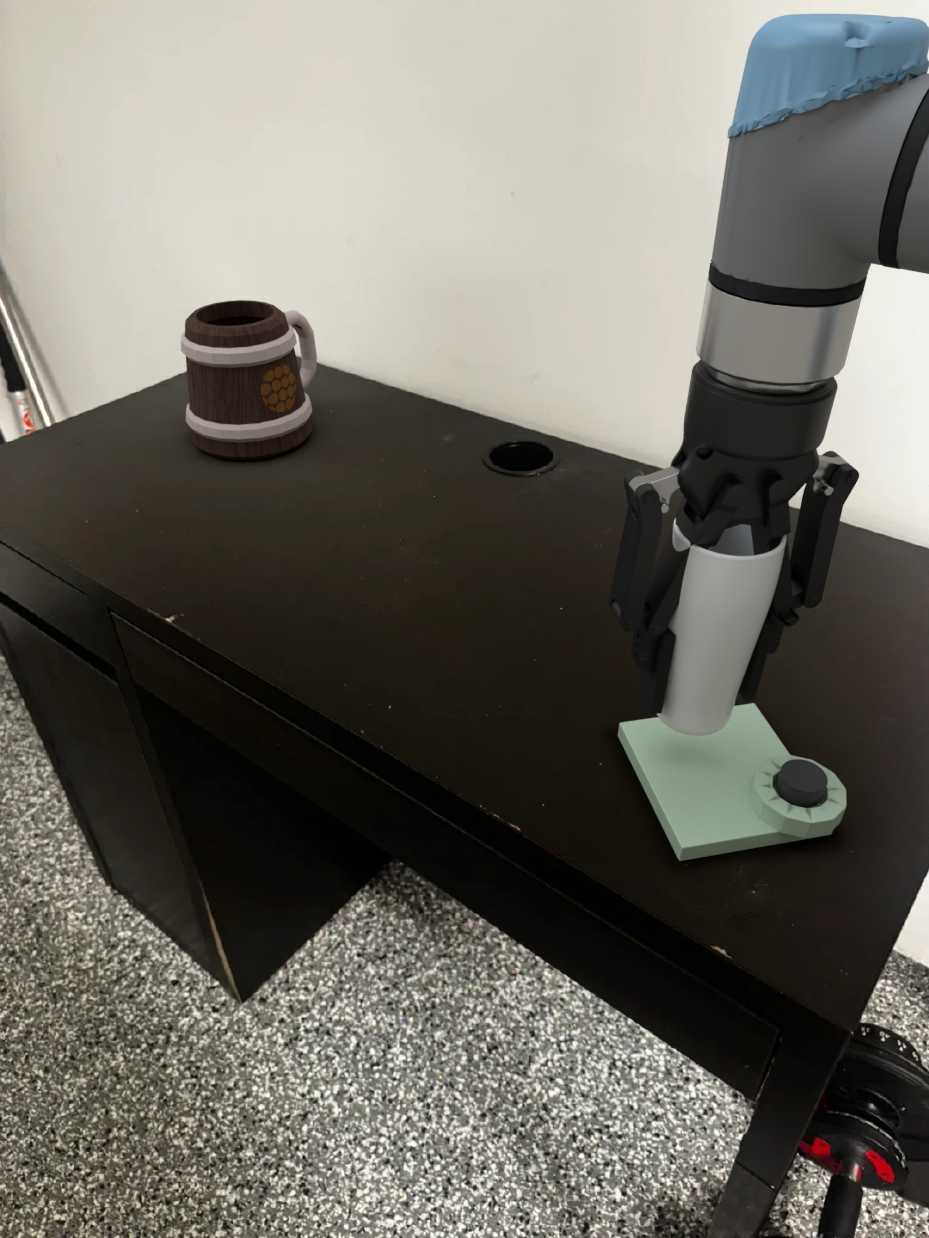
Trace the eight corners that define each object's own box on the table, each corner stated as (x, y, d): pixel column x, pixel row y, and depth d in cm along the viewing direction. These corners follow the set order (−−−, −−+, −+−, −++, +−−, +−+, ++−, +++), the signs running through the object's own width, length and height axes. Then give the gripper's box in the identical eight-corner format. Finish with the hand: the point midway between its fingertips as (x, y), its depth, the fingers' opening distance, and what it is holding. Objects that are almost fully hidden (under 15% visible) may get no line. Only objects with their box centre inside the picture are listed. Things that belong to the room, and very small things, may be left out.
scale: (852, 843, 60) (864, 813, 58) (684, 873, 58) (691, 843, 56) (762, 714, 70) (770, 685, 68) (617, 735, 68) (621, 706, 66)
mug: (255, 475, 101) (235, 345, 92) (163, 443, 108) (136, 319, 99) (364, 415, 115) (355, 296, 106) (276, 390, 121) (261, 276, 112)
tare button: (830, 804, 59) (836, 788, 58) (789, 811, 58) (794, 795, 58) (808, 771, 61) (813, 755, 60) (767, 778, 61) (772, 762, 60)
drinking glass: (637, 738, 60) (669, 550, 51) (645, 674, 65) (675, 494, 56) (740, 755, 59) (791, 566, 50) (740, 689, 64) (786, 507, 55)
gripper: (887, 331, 52) (795, 643, 66) (572, 353, 49) (546, 676, 62) (970, 380, 46) (851, 711, 60) (619, 409, 43) (579, 752, 57)
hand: (695, 693), depth 61 cm, fingers closed on drinking glass, 6 cm apart
